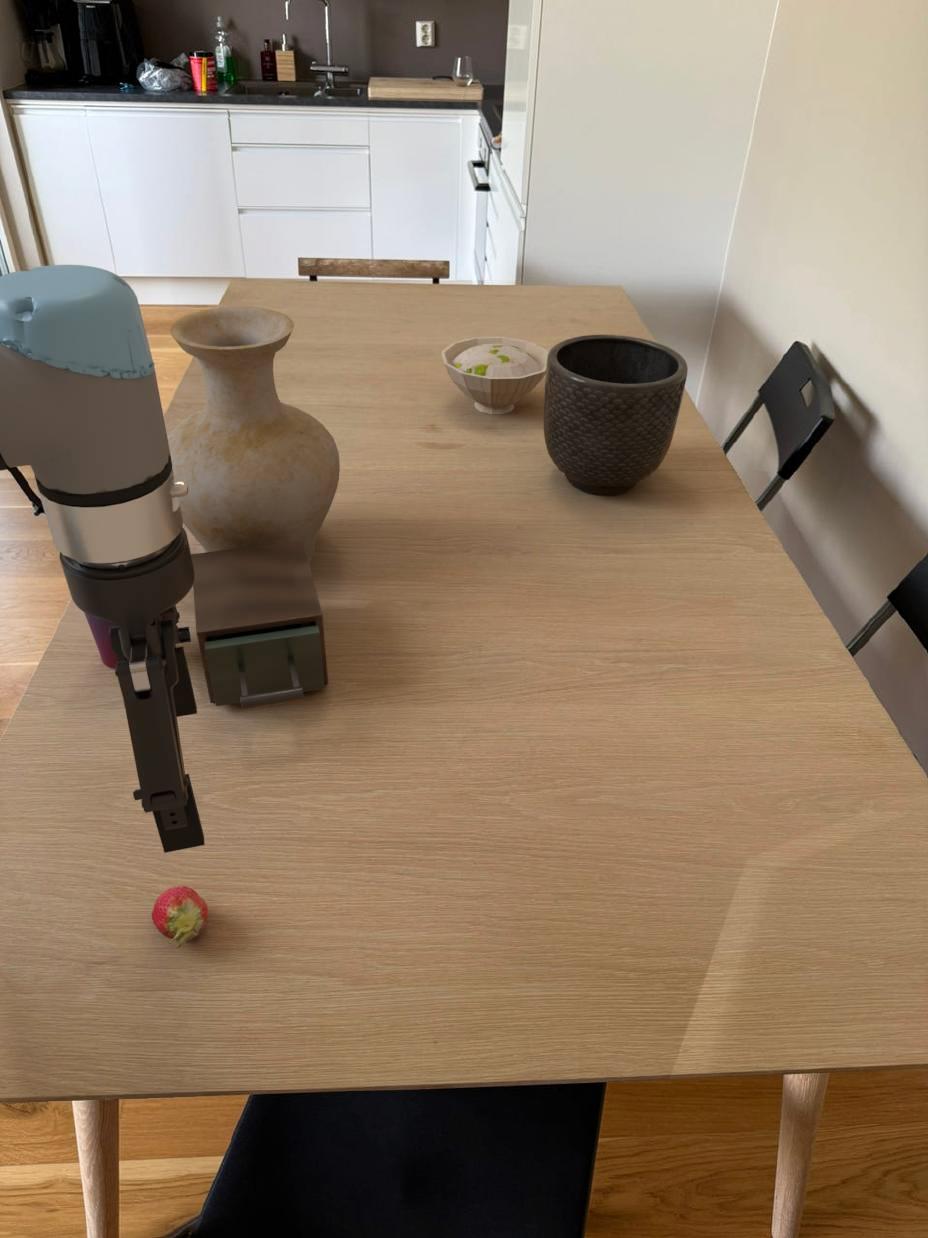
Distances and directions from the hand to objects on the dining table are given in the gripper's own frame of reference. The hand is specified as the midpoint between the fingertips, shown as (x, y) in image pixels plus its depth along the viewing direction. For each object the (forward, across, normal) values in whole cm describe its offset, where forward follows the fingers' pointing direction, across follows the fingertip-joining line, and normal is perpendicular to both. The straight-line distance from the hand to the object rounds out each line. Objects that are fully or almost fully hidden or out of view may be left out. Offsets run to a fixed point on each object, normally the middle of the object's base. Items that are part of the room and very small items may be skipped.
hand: (182, 774), depth 67 cm
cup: (+15, +34, +8) cm, 38 cm away
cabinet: (+15, +31, -7) cm, 35 cm away
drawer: (+14, +26, -7) cm, 30 cm away
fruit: (+15, -3, +2) cm, 15 cm away
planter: (+15, +61, -61) cm, 87 cm away
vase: (+15, +52, -9) cm, 55 cm away
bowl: (+15, +90, -53) cm, 105 cm away
